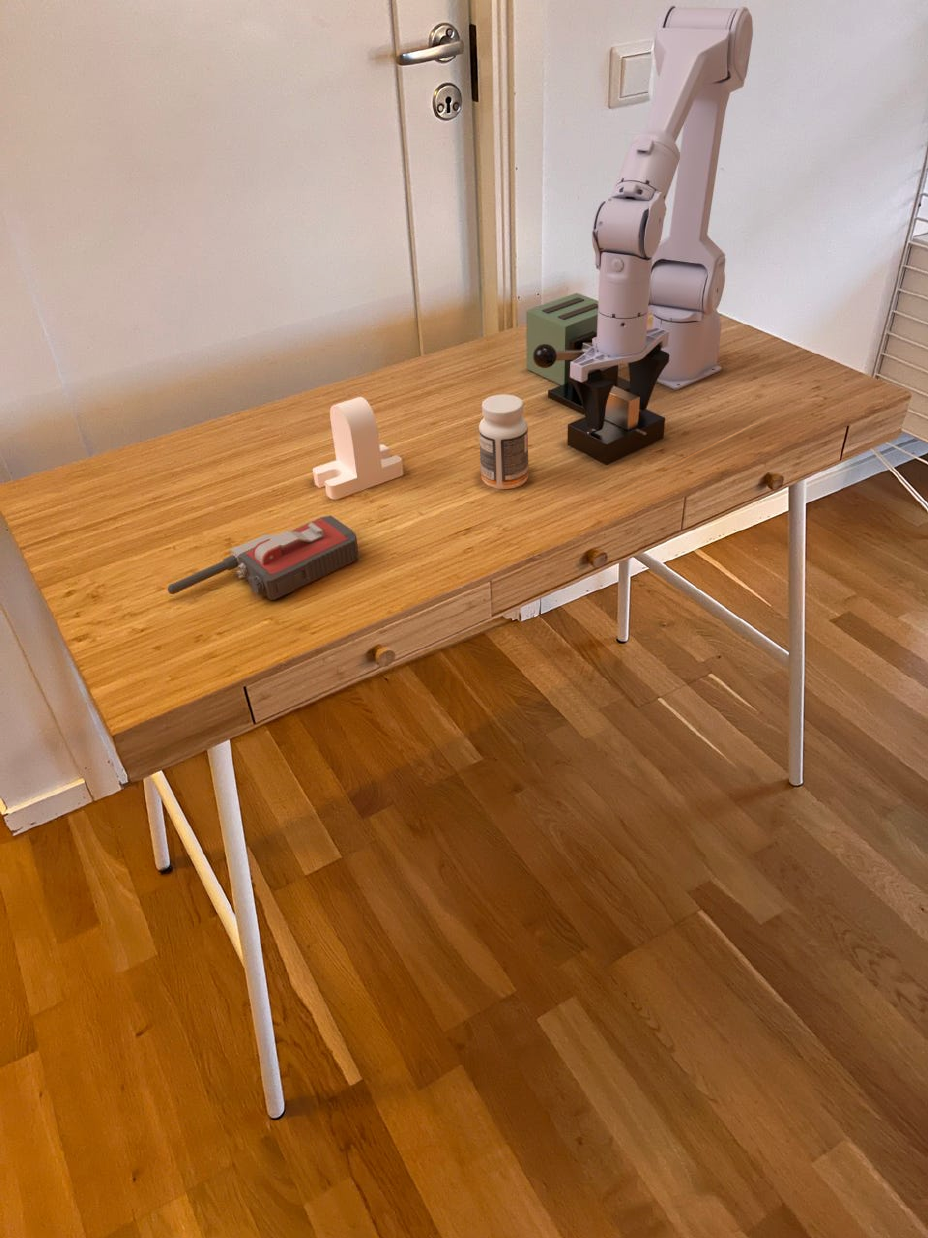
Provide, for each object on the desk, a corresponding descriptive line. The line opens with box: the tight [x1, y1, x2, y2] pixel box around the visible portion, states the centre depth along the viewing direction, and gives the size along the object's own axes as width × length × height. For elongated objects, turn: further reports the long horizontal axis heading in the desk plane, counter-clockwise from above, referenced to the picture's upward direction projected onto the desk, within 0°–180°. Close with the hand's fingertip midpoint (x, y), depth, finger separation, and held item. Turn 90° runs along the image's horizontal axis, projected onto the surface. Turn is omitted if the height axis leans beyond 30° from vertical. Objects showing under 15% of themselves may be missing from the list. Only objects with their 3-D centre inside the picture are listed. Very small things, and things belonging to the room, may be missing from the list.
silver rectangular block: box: [605, 386, 640, 430], centre depth 117 cm, size 6×2×4 cm, turn 39°
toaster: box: [525, 292, 598, 386], centre depth 135 cm, size 10×8×9 cm
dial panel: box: [566, 408, 666, 466], centre depth 120 cm, size 10×10×3 cm
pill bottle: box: [478, 393, 529, 490], centre depth 112 cm, size 6×6×10 cm
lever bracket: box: [547, 331, 630, 416], centre depth 129 cm, size 10×7×8 cm
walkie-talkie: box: [167, 515, 360, 601], centre depth 100 cm, size 9×4×20 cm
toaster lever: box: [533, 343, 593, 368], centre depth 125 cm, size 12×3×3 cm, turn 127°
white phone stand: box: [312, 396, 404, 501], centre depth 113 cm, size 5×10×10 cm, turn 124°
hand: (616, 417), depth 118 cm, fingers open, 7 cm apart
